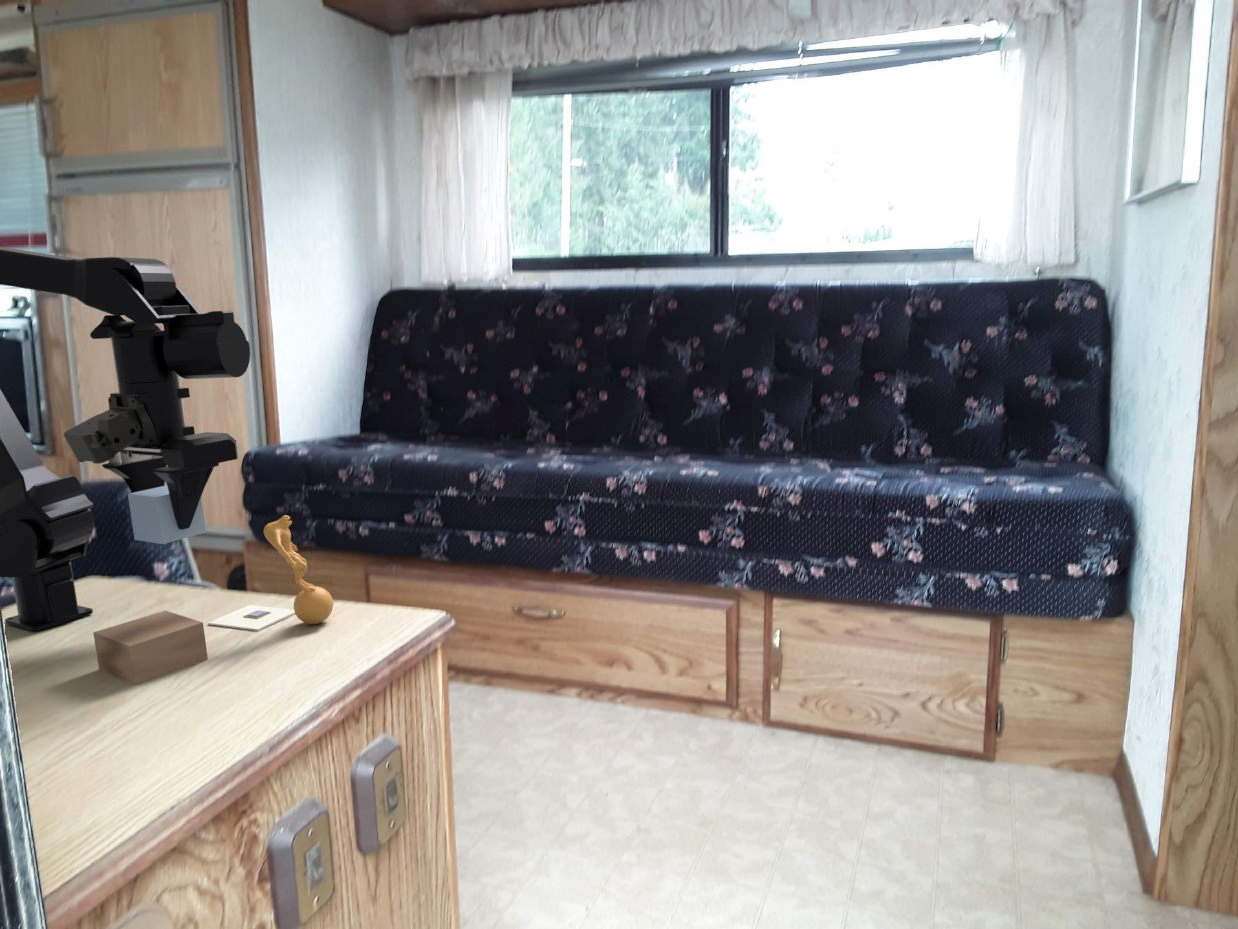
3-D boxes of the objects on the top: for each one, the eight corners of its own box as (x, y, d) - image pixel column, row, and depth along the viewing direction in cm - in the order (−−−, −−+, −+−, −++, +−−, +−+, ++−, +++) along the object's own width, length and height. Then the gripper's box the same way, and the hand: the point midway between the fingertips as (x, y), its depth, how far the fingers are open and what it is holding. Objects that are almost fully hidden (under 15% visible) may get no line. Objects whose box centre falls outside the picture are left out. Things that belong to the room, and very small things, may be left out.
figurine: (337, 632, 96) (325, 519, 94) (275, 642, 94) (261, 526, 92) (332, 608, 104) (321, 503, 102) (275, 617, 102) (262, 509, 100)
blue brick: (134, 539, 100) (127, 493, 99) (177, 528, 104) (171, 484, 103) (163, 544, 97) (156, 497, 96) (205, 532, 101) (199, 487, 100)
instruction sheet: (208, 624, 101) (207, 621, 101) (249, 606, 106) (249, 603, 106) (258, 631, 98) (257, 627, 98) (298, 612, 103) (298, 608, 103)
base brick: (99, 672, 90) (93, 632, 89) (170, 648, 95) (165, 610, 94) (135, 687, 85) (129, 646, 85) (208, 661, 91) (202, 622, 90)
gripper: (19, 388, 96) (44, 537, 98) (127, 390, 86) (151, 555, 89) (124, 377, 105) (143, 513, 108) (231, 378, 95) (250, 527, 98)
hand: (168, 526), depth 100 cm, fingers closed on blue brick, 5 cm apart
